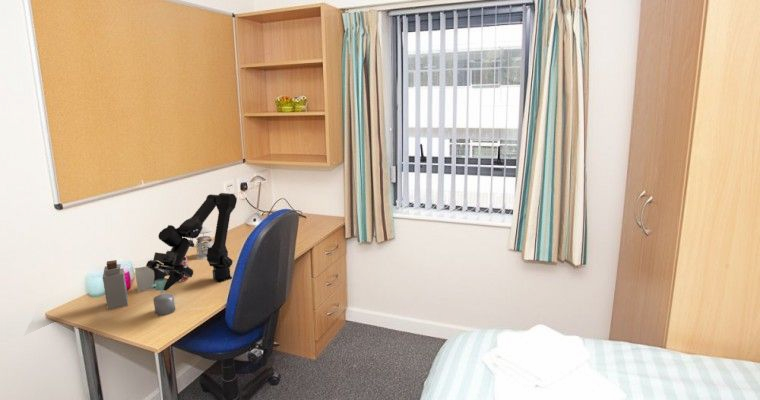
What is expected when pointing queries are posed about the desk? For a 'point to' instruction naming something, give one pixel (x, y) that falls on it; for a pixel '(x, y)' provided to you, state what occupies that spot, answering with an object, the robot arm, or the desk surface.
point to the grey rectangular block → (144, 278)
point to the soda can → (184, 274)
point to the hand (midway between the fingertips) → (159, 289)
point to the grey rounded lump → (164, 304)
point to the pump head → (159, 284)
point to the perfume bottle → (115, 285)
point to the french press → (206, 245)
